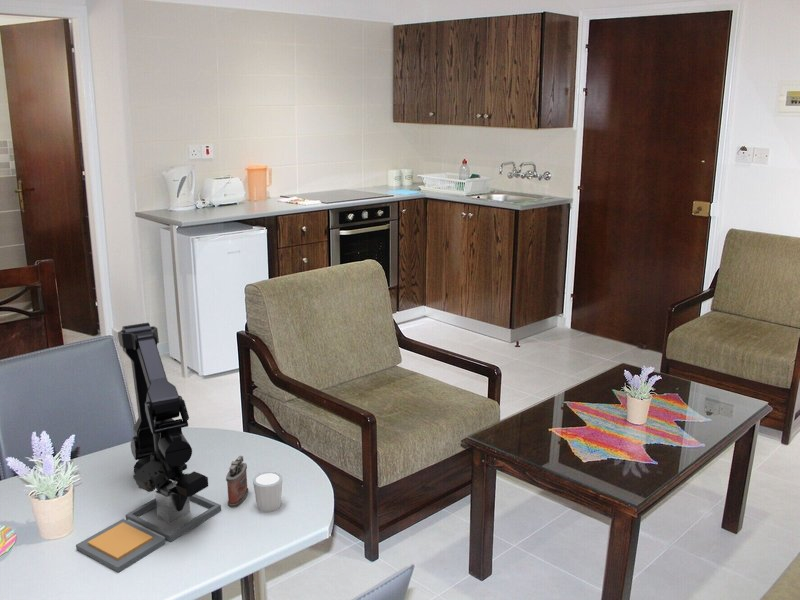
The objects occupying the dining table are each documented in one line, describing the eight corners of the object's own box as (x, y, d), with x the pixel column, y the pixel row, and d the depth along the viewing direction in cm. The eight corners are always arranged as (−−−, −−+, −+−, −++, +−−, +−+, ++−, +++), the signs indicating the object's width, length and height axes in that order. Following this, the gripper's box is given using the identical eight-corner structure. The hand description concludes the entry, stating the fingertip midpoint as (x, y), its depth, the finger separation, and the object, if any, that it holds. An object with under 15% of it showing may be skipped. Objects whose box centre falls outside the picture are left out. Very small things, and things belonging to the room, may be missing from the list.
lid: (76, 549, 163) (75, 542, 163) (127, 521, 174) (126, 514, 173) (118, 572, 156) (117, 565, 155) (168, 541, 166) (168, 534, 166)
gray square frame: (125, 520, 174) (125, 514, 173) (177, 491, 186) (177, 486, 185) (170, 542, 166) (169, 536, 165) (221, 510, 178) (220, 504, 177)
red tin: (238, 508, 179) (235, 470, 176) (224, 506, 179) (222, 468, 177) (251, 490, 186) (249, 453, 184) (238, 489, 187) (236, 452, 184)
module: (157, 518, 174) (155, 489, 172) (178, 507, 179) (175, 478, 177) (169, 524, 172) (167, 495, 170) (190, 512, 177) (187, 483, 175)
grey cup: (258, 515, 176) (256, 488, 174) (251, 500, 182) (249, 474, 180) (287, 509, 179) (285, 482, 177) (279, 494, 185) (278, 469, 183)
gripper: (110, 449, 169) (117, 511, 174) (167, 473, 159) (173, 538, 164) (151, 430, 178) (157, 489, 183) (207, 452, 168) (212, 514, 173)
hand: (173, 507), depth 175 cm, fingers closed on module, 4 cm apart
